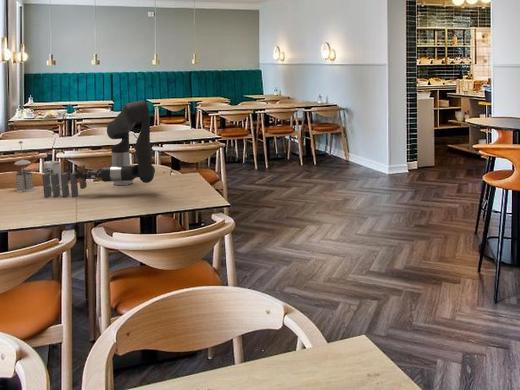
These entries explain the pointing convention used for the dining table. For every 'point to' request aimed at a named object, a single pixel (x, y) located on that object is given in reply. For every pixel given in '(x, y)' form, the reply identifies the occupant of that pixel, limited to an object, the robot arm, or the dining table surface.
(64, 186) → the charcoal tile
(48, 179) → the charcoal tile
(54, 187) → the charcoal tile
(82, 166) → the walnut tile
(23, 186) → the french press
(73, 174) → the charcoal tile
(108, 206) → the dining table surface
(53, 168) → the syrup box
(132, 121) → the robot arm
